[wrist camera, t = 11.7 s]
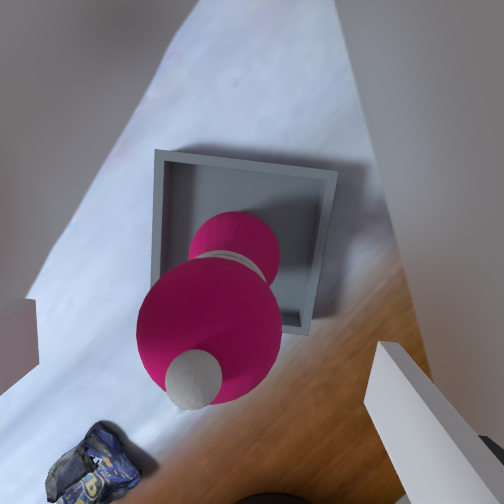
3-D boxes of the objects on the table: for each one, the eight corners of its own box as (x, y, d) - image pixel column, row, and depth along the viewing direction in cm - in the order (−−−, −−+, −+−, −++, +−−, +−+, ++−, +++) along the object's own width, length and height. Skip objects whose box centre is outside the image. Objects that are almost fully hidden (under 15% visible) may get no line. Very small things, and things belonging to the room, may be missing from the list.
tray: (303, 320, 30) (308, 336, 28) (160, 303, 30) (149, 316, 28) (330, 171, 27) (338, 171, 24) (166, 152, 27) (154, 149, 24)
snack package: (33, 425, 36) (61, 500, 38) (-5, 474, 29) (32, 561, 32) (134, 402, 37) (155, 477, 39) (118, 445, 30) (145, 530, 33)
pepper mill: (269, 198, 27) (289, 256, 7) (283, 273, 28) (330, 479, 9) (192, 214, 27) (24, 307, 8) (211, 286, 29) (109, 507, 10)
